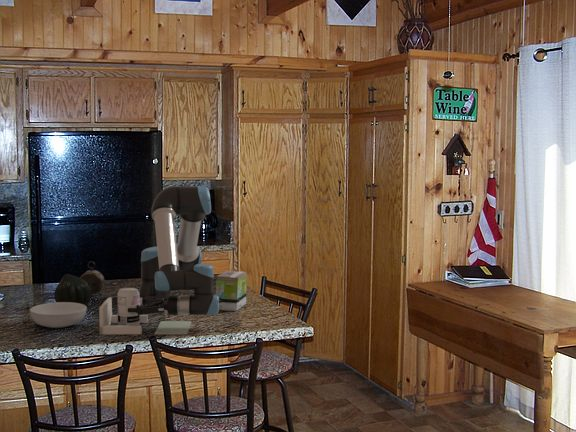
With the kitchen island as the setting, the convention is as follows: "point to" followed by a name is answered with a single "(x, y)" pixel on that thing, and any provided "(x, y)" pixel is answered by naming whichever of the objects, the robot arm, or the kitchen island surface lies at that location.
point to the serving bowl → (58, 314)
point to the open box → (116, 321)
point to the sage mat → (173, 327)
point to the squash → (72, 290)
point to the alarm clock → (94, 280)
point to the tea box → (231, 290)
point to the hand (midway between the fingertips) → (122, 305)
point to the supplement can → (128, 299)
